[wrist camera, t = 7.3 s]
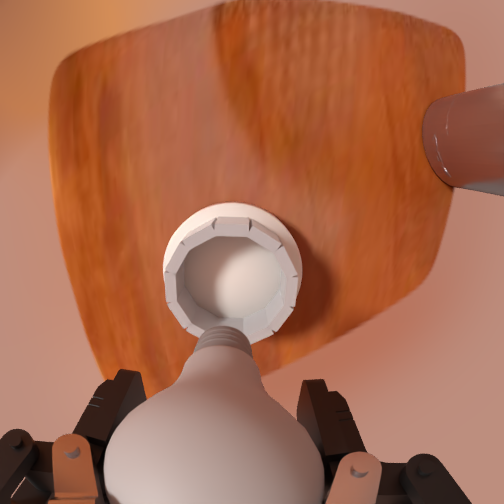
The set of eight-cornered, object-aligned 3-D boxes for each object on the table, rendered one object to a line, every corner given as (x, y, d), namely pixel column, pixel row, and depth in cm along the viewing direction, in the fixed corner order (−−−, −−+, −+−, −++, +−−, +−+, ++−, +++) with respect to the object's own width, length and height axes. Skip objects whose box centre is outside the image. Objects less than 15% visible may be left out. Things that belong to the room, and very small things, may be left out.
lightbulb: (299, 368, 14) (349, 565, 4) (192, 393, 15) (163, 575, 4) (267, 264, 13) (333, 531, 2) (144, 301, 13) (24, 503, 2)
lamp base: (261, 177, 22) (266, 178, 18) (317, 291, 25) (332, 317, 20) (146, 240, 24) (124, 257, 19) (210, 341, 26) (204, 374, 22)
